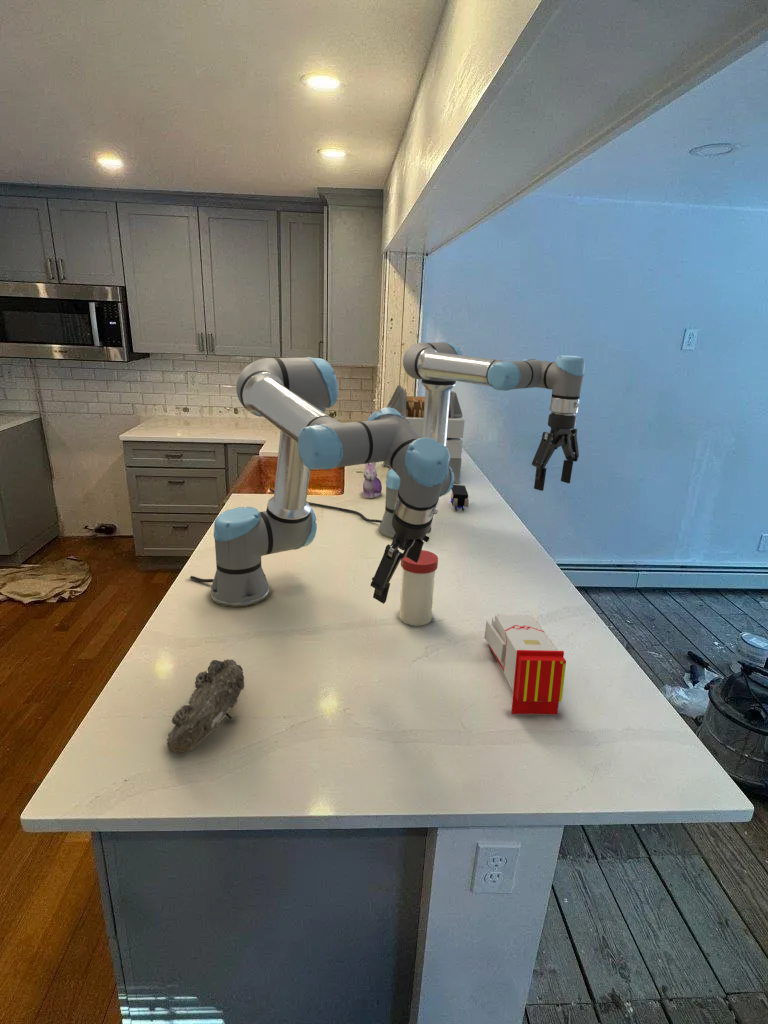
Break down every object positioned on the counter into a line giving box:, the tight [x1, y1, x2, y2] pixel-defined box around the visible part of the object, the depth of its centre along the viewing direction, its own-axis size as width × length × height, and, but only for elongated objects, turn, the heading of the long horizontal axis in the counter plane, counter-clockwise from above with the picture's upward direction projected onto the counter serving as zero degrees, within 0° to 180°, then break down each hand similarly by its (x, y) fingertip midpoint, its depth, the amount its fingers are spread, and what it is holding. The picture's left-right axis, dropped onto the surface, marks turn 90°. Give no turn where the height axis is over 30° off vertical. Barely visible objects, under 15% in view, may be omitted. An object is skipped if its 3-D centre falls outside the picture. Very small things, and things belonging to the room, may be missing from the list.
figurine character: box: [449, 484, 470, 512], centre depth 229 cm, size 7×8×15 cm
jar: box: [399, 567, 436, 627], centre depth 144 cm, size 8×8×17 cm
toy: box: [484, 614, 567, 716], centre depth 124 cm, size 12×13×30 cm
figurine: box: [361, 462, 383, 499], centre depth 237 cm, size 9×10×15 cm
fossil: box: [166, 658, 245, 754], centre depth 106 cm, size 22×10×15 cm
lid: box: [400, 549, 439, 574], centre depth 141 cm, size 9×9×2 cm
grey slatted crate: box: [383, 384, 465, 484], centre depth 268 cm, size 34×33×41 cm
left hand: (396, 578), depth 122 cm, fingers open, 13 cm apart
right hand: (552, 485), depth 166 cm, fingers open, 13 cm apart
